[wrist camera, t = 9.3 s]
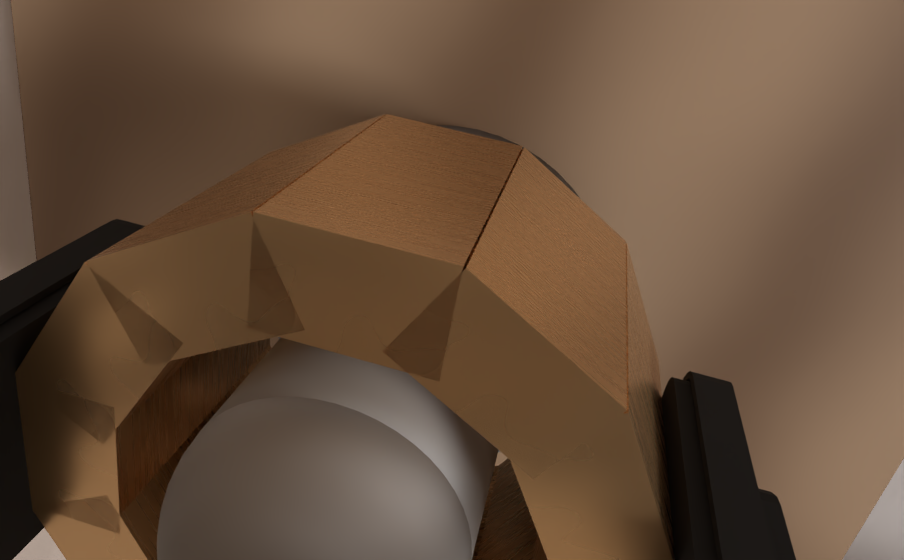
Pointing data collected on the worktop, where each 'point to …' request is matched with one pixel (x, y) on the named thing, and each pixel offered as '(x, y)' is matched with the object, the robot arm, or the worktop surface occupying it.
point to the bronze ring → (364, 337)
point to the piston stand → (575, 164)
